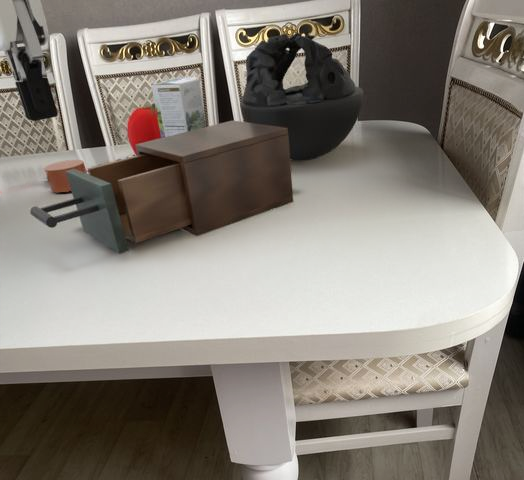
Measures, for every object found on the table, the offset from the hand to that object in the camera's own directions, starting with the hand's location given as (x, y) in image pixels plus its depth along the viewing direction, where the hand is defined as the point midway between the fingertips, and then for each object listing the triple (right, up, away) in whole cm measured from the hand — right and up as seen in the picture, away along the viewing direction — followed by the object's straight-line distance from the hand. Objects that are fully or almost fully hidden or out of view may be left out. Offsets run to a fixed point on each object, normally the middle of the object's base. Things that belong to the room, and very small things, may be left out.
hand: (43, 117), depth 61 cm
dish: (-8, +1, +31) cm, 32 cm away
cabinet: (+20, -7, +12) cm, 24 cm away
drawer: (+9, -12, +6) cm, 16 cm away
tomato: (+7, +9, +40) cm, 42 cm away
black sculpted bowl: (+33, +6, +30) cm, 45 cm away
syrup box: (+13, +4, +31) cm, 34 cm away
